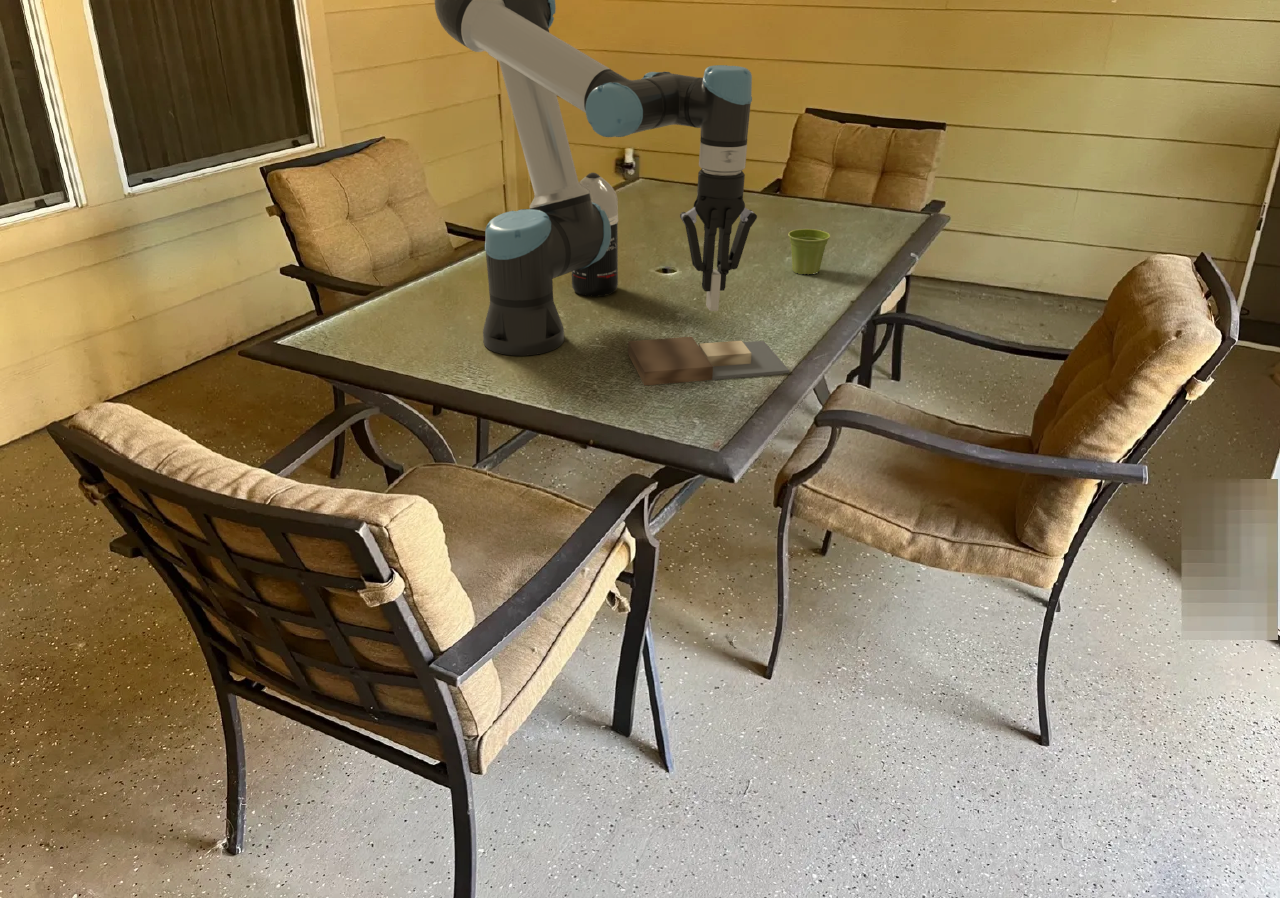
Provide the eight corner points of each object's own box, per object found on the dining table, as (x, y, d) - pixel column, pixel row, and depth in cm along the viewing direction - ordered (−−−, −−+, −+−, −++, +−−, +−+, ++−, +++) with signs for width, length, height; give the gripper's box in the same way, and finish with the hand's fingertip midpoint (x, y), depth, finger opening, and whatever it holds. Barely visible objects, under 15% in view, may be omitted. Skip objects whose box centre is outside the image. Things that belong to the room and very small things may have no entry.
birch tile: (707, 366, 160) (707, 356, 159) (698, 353, 165) (698, 343, 164) (750, 363, 162) (751, 353, 161) (740, 350, 167) (741, 340, 166)
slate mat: (712, 379, 157) (712, 376, 157) (691, 349, 169) (691, 346, 169) (789, 373, 159) (789, 370, 159) (763, 343, 171) (763, 340, 171)
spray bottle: (628, 290, 198) (628, 172, 186) (594, 301, 191) (592, 180, 179) (595, 279, 204) (593, 165, 192) (561, 290, 197) (557, 172, 185)
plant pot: (808, 280, 204) (812, 242, 200) (776, 270, 211) (779, 233, 206) (834, 272, 210) (838, 235, 206) (802, 262, 216) (806, 226, 212)
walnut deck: (644, 385, 155) (644, 372, 153) (627, 353, 167) (628, 341, 165) (712, 379, 157) (712, 366, 156) (691, 349, 169) (691, 336, 168)
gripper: (688, 176, 142) (681, 317, 154) (767, 174, 145) (754, 313, 157) (677, 165, 149) (670, 302, 160) (752, 163, 151) (741, 298, 163)
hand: (712, 307), depth 159 cm, fingers closed
